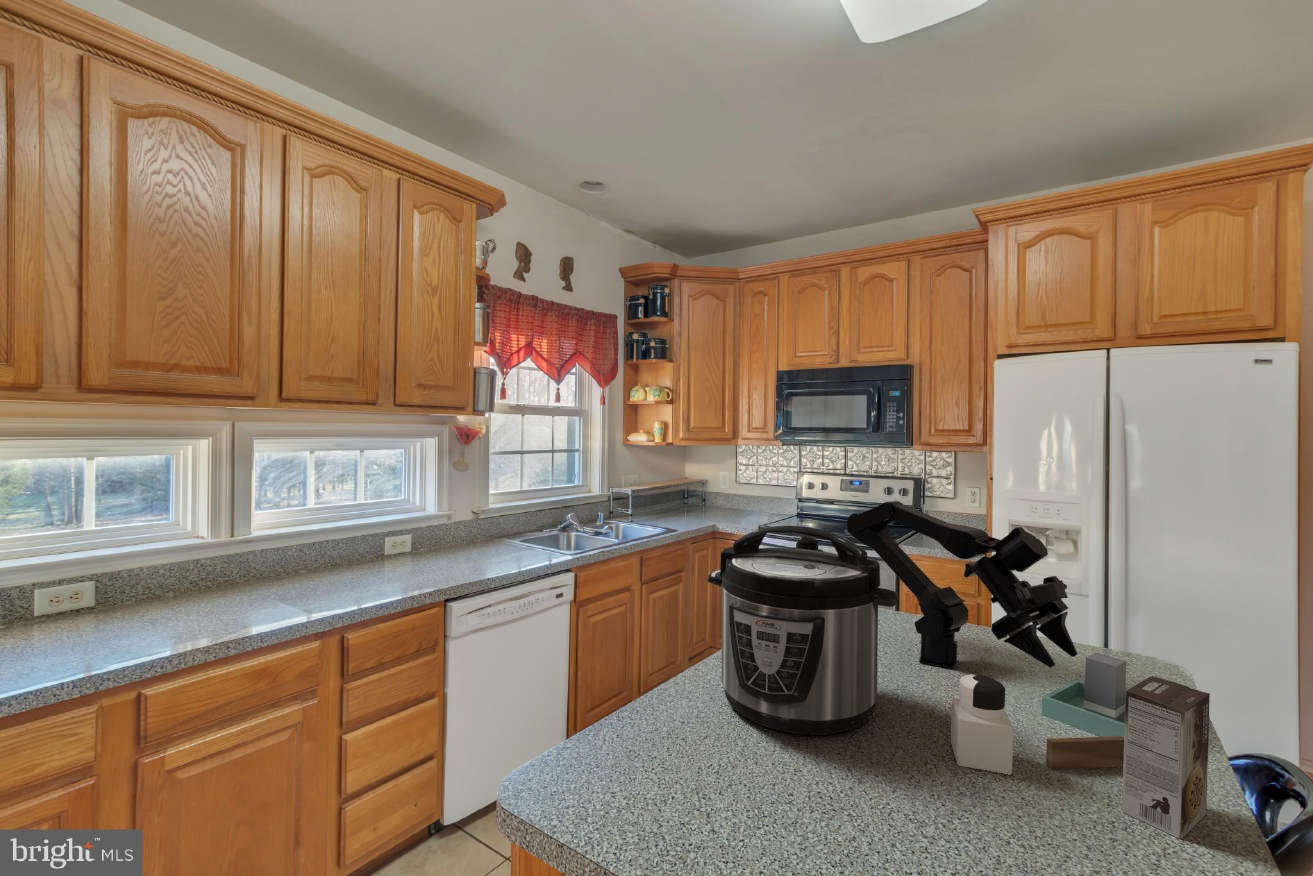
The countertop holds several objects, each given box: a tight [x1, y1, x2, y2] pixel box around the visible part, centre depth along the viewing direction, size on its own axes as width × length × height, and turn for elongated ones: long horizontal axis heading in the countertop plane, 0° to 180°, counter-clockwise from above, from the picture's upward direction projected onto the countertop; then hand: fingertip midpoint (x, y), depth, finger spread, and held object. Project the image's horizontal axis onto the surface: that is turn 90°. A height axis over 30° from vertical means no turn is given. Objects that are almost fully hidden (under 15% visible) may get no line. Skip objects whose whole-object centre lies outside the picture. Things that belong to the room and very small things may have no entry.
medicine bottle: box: [950, 673, 1014, 776], centre depth 89 cm, size 7×7×12 cm
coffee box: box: [1121, 675, 1211, 840], centre depth 77 cm, size 9×6×16 cm
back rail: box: [1045, 736, 1124, 770], centre depth 88 cm, size 1×12×4 cm, turn 96°
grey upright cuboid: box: [1084, 652, 1127, 722], centre depth 102 cm, size 4×4×10 cm
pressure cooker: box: [706, 525, 899, 736], centre depth 106 cm, size 30×28×32 cm
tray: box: [1041, 679, 1126, 737], centre depth 102 cm, size 14×14×3 cm
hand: (1064, 661), depth 107 cm, fingers open, 9 cm apart
